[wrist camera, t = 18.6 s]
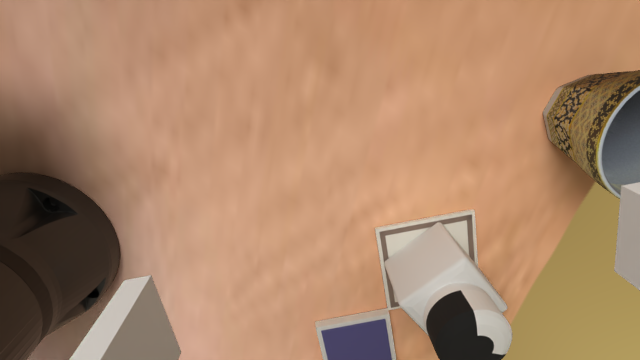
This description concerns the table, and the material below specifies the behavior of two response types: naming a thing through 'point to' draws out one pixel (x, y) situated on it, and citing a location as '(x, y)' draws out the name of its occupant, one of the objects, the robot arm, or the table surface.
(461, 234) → the print card
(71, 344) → the table surface
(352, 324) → the ink pad
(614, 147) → the ceramic cup
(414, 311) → the medicine bottle
